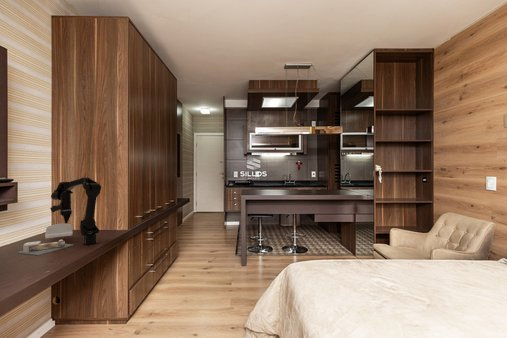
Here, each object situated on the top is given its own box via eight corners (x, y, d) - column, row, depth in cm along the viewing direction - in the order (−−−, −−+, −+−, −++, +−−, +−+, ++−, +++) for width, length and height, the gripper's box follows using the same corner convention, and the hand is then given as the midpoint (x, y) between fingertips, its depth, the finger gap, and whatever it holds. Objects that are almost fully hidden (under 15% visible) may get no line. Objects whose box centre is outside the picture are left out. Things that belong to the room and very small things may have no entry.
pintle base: (73, 245, 172) (73, 237, 172) (39, 255, 152) (38, 247, 152) (52, 243, 177) (52, 236, 177) (16, 253, 157) (16, 244, 157)
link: (64, 245, 170) (64, 240, 170) (64, 246, 166) (64, 242, 166) (34, 249, 161) (34, 244, 161) (33, 251, 158) (33, 246, 158)
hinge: (44, 238, 190) (44, 224, 193) (45, 239, 194) (45, 225, 197) (72, 235, 199) (72, 221, 202) (73, 236, 203) (73, 222, 206)
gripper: (51, 200, 186) (51, 222, 186) (50, 202, 170) (50, 227, 170) (71, 198, 192) (71, 220, 192) (71, 201, 177) (72, 225, 177)
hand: (66, 223), depth 183 cm, fingers closed
